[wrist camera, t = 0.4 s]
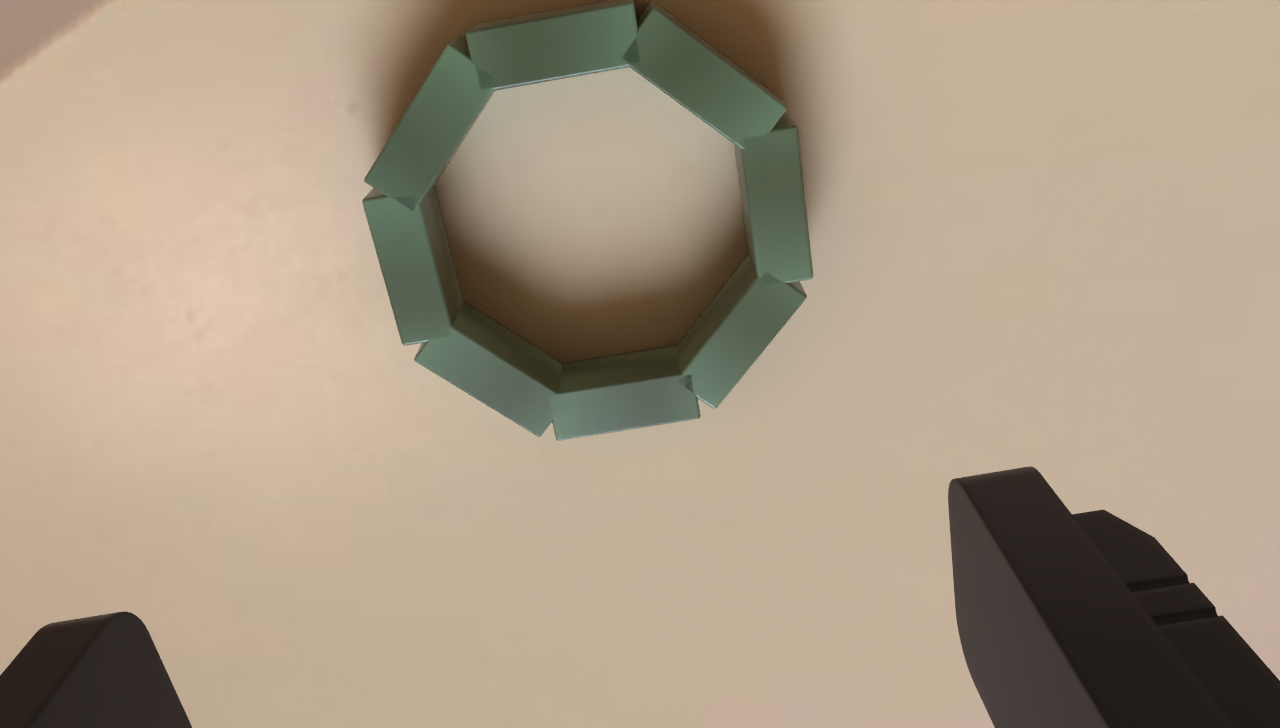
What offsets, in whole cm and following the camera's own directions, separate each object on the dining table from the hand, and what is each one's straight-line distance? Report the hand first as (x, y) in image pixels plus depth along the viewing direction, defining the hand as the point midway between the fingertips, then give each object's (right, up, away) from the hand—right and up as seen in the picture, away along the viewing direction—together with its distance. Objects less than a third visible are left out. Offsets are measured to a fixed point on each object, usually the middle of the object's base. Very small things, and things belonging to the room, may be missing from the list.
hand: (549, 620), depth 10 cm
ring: (0, +6, +17) cm, 18 cm away
